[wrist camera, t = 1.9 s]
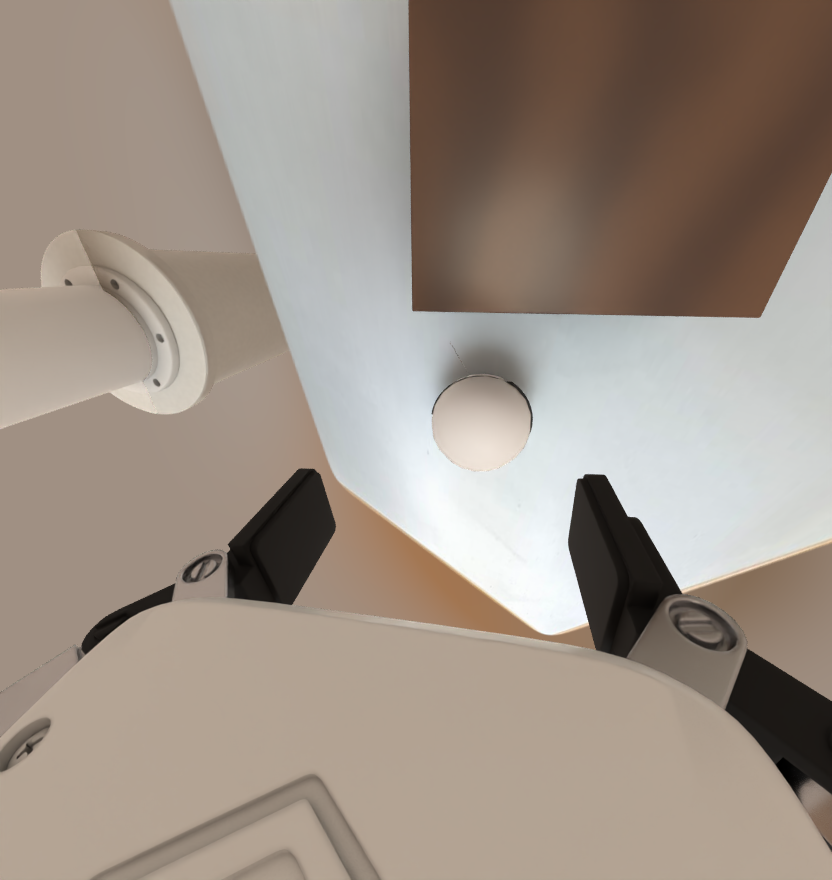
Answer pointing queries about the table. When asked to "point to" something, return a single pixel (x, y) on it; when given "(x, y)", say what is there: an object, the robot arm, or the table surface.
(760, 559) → the table surface
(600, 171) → the shelf
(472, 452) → the cream oval egg shape
